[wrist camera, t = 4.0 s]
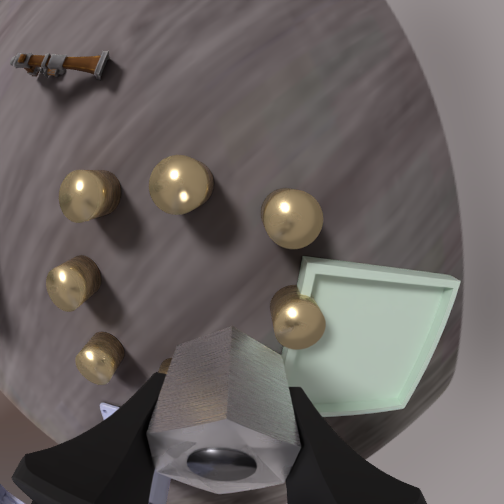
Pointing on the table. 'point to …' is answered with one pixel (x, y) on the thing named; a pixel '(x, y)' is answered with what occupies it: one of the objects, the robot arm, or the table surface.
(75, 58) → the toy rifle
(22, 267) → the table surface
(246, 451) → the steel nut
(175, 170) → the set of brass balls
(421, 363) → the tray
